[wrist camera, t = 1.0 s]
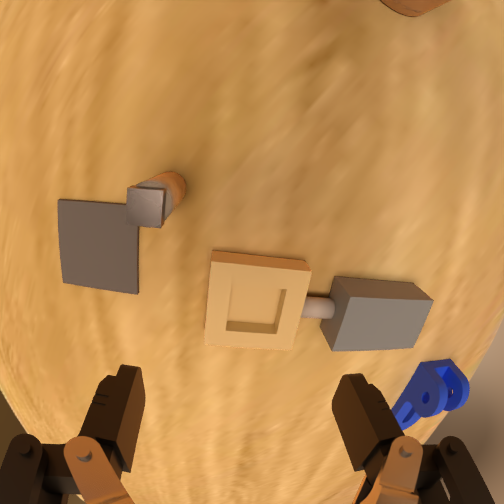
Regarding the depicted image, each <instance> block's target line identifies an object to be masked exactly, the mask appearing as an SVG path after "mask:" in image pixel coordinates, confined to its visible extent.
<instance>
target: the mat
mask: <svg viewBox="0 0 504 504" xmlns="http://www.w3.org/2000/svg"><path fill="white" fill-rule="evenodd" d="M58 232H59V247H60V259H61V269H62V278H63V283H68V284H73V285H79V286H85V287H91V288H97V289H103V290H110V291H116V292H123V293H130V294H137V295H138V293H139V274H138V255H139V226H135V225H126V204H120V203H107V202H94V201H81V200H65V199H59V200H58Z"/></svg>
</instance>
